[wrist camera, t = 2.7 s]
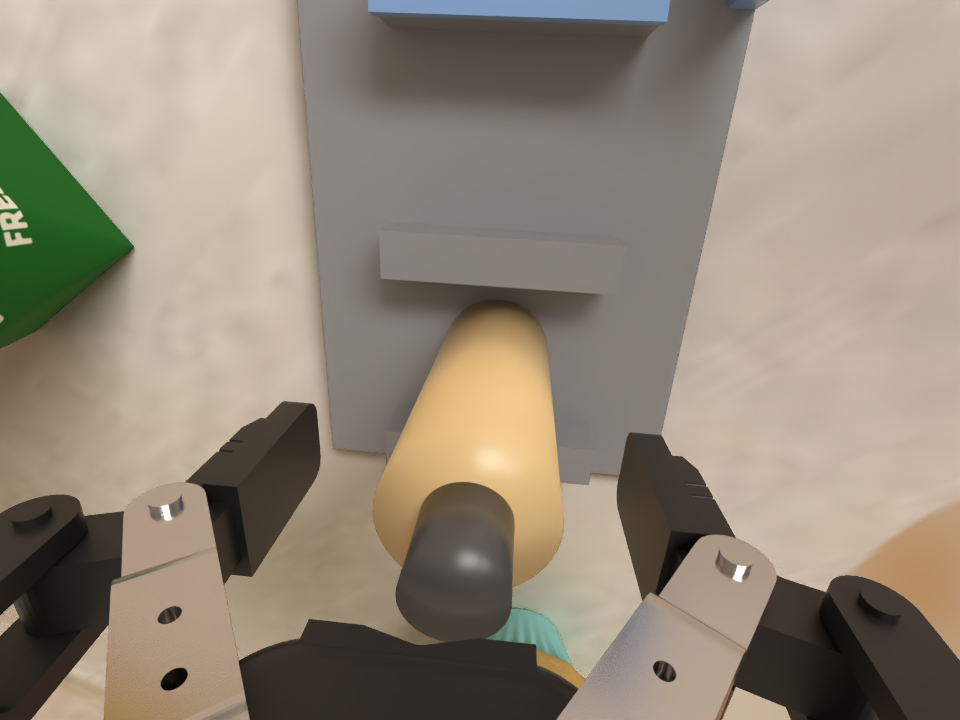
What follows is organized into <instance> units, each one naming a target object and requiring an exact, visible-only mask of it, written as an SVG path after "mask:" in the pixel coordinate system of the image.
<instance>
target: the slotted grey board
mask: <svg viewBox="0 0 960 720" xmlns="http://www.w3.org/2000/svg"><path fill="white" fill-rule="evenodd" d="M767 1H769V0H297V4H298V16H299V29H300V41H301V54H302V66H303V79H304V91H305V104H306V116H307V129H308V141H309V154H310V166H311V179H312V191H313V204H314V216H315V229H316V241H317V253H318V266H319V278H320V291H321V303H322V316H323V328H324V341H325V353H326V366H327V378H328V391H329V403H330V416H331V428H332V441H333V449H344V450H355V451H365V452H376V453H386V465H387V464H388V461H389V459H390V457H391V455H392V453H393V451H394V448H395V446H396V444H397V442H398V440H399V438H400V435H401V433H402V431H403V429H404V427H405V424H406V422H407V420H408V418H409V416H410V414H411V411H412V409H413V407H414V405H415V403H416V401H417V398H418V396H419V394H420V392H421V390H422V388H423V385H424V383H425V381H426V379H427V377H428V375H429V372H430V370H431V368H432V366H433V364H434V361H435V359H436V357H437V355H438V353H439V351H440V348H441V346H442V344H443V342H444V340H445V338H446V335H447V333H448V331H449V329H450V327H451V325H452V323H453V321H454V320H455V319H456V317H457V316H458V315H459V314H460V313H461V312H462V311H464V310H465V309H466V308H468V307H470V306H471V305H473V304H476V303H478V302H482V301H486V300H506V301H510V302H513V303H516V304H518V305H520V306H522V307H524V308H525V309H527V310H528V311H529V312H531V313H532V314H533V315H534V316H535V317H536V319H537V320H538V321H539V323H540V324H541V326H542V328H543V330H544V333H545V336H546V340H547V349H548V360H549V370H550V381H551V391H552V402H553V412H554V423H555V433H556V444H557V455H558V465H559V476H560V482H561V483H572V484H582V485H588V484H589V478H590V473H599V474H610V475H619V474H620V469H621V464H622V459H623V454H624V449H625V444H626V439H627V436H628V434H629V433H630V432H634V433H645V434H657V435H661V432H662V428H663V423H664V419H665V414H666V410H667V405H668V401H669V396H670V392H671V387H672V383H673V378H674V374H675V369H676V365H677V360H678V356H679V351H680V347H681V342H682V338H683V333H684V329H685V324H686V320H687V315H688V311H689V306H690V302H691V297H692V293H693V288H694V284H695V279H696V274H697V270H698V265H699V261H700V256H701V252H702V247H703V243H704V238H705V234H706V229H707V225H708V220H709V216H710V211H711V207H712V202H713V198H714V193H715V189H716V184H717V180H718V175H719V171H720V166H721V162H722V157H723V153H724V148H725V144H726V139H727V135H728V130H729V126H730V121H731V117H732V112H733V107H734V103H735V98H736V94H737V89H738V85H739V80H740V76H741V71H742V67H743V62H744V58H745V53H746V49H747V44H748V40H749V35H750V31H751V26H752V22H753V17H754V13H755V9H757V8H758V7H760V6H761V5H763V4H764V3H766V2H767Z"/></svg>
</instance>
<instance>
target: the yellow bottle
mask: <svg viewBox="0 0 960 720" xmlns="http://www.w3.org/2000/svg"><path fill="white" fill-rule="evenodd" d="M373 518H374V524H375V527H376V531H377V533H378V536H379V538H380V540H381V542H382V544H383V545H384V547H385V548H386V550H387V551H388V552H389V554H390V555H391V556H392V557H393V559H394V560H396V561H397V562H398V563H399V564H400V565H401V566H402V570H401V574H400V577H399V580H398V583H397V587H396V602H397V605H398V608H399V610H400V612H401V614H402V615H403V617H404V618H405V619H406V620H407V622H408V623H410V624H411V625H412V626H413V627H414V628H415V629H417V630H418V631H420V632H422V633H423V634H425V635H427V636H429V637H432V638H435V639H437V640H441V641H445V642H454V641H461V640H469V639H477V638H482V639H486V638H488V637H490V636H492V635H494V634H495V633H497V632H498V631H499V630H500V629H501V628H502V627H503V626H504V625H505V624H506V622H507V621H508V619H509V616H510V613H511V608H512V587H514V586H517V585H519V584H521V583H523V582H525V581H527V580H529V579H531V578H532V577H534V576H535V575H537V574H538V573H539V572H540V571H541V570H542V569H544V568H545V567H546V566H547V564H548V563H549V562H550V561H551V560H552V558H553V557H554V555H555V553H556V552H557V550H558V547H559V545H560V542H561V539H562V535H563V527H564V518H563V507H562V497H561V486H560V476H559V465H558V455H557V444H556V433H555V423H554V412H553V402H552V391H551V381H550V370H549V360H548V349H547V340H546V336H545V333H544V330H543V328H542V326H541V324H540V323H539V321H538V320H537V319H536V317H535V316H534V315H533V314H532V313H531V312H529V311H528V310H527V309H525V308H524V307H522V306H520V305H518V304H516V303H513V302H510V301H506V300H486V301H482V302H478V303H476V304H473V305H471V306H470V307H468V308H466V309H465V310H464V311H462V312H461V313H460V314H459V315H458V316H457V317H456V319H455V320H454V321H453V323H452V325H451V327H450V329H449V331H448V333H447V335H446V338H445V340H444V342H443V344H442V346H441V348H440V351H439V353H438V355H437V357H436V359H435V361H434V364H433V366H432V368H431V370H430V372H429V375H428V377H427V379H426V381H425V383H424V385H423V388H422V390H421V392H420V394H419V396H418V398H417V401H416V403H415V405H414V407H413V409H412V411H411V414H410V416H409V418H408V420H407V422H406V424H405V427H404V429H403V431H402V433H401V435H400V438H399V440H398V442H397V444H396V446H395V448H394V451H393V453H392V455H391V457H390V459H389V461H388V464H387V466H386V468H385V470H384V472H383V474H382V477H381V479H380V481H379V483H378V486H377V488H376V491H375V495H374V500H373Z"/></svg>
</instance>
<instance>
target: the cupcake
mask: <svg viewBox="0 0 960 720" xmlns="http://www.w3.org/2000/svg"><path fill="white" fill-rule="evenodd" d="M486 639H491V640H500V641H509V642H518V643H527V644H536V650H537V665H539V666H541V667H544V668H547V669H549V670H551V671H552V672H554V673H556V674H558V675H560V676H562V677H563V678H565V679H566V680H568V681H569V682H571V683H572V684H573V685H575V686H576V687H577V688H578V689H579V688H580V687H581V685H582V684H583V682H584V681H585V680H586V679H584V678H583V677H582V676H581V675H580V674H578V672H577V671H576V670H575V669H574V667H573V665H572V663H571V661H570V659H569V657H568V654H567V652H566V649H565V647H564V644H563V642H562V639H561V636H560V634H559V632H558V630H557V628H556V627H555V626H554V625H553V624H552V623H551V622H550V621H549V620H548V619H547V618H545V617H543V616H542V615H540V614H538V613H535V612H532V611H529V610H524V609H511V613H510V616H509V619H508V621H507V622H506V624H505V625H504V626H503V627H502V628H501V629H500V630H499V631H498V632H497V633H495V634H494V635H492V636H490V637H488V638H486Z"/></svg>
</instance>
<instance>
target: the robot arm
mask: <svg viewBox="0 0 960 720" xmlns="http://www.w3.org/2000/svg"><path fill="white" fill-rule="evenodd" d="M320 458H321V456H320V443H319V431H318V419H317V410H316V407H315V405H314V404H310V403H299V402H287V401H284V402H282V403H281V404H280V405H279V406H278V407H277V408H276V409H275V410H274V411H273V412H272V413H271V414H270V415H269V416H268V417H267V418H266V419H265V418H260V419H258V420H256V421H254V422H252V423H250V424H248V425H246V426H244V427H242V428H241V429H240V430H239V431H238V432H237V433H236V434H235V435H234V436H233V437H232V438H231V439H230V441H229V442H227V443H226V444H225V445H223V446H222V447H221V448H220V450H219V452H216V453H215V454H214V455H213V456H212V457H211V458H210V459H209V460H208V461H207V462H206V463H205V464H204V465H203V466H202V467H201V468H200V469H198V470H197V471H196V472H195V473H194V474H193V475H192V476H191V477H190V478H189V479H188V480H187V481H186V482H185V483H172V484H167V485H163V486H160V487H157V488H154V489H151V490H149V491H147V492H145V493H143V494H142V495H140V496H138V497H137V498H136V499H134V500H133V501H132V502H131V503H130V504H129V505H128V506H127V508H126V509H125V511H123V512H114V513H106V514H97V515H89V516H84V514H83V511H82V508H81V505H80V502H79V500H78V499H77V498H75V497H73V496H69V495H49V496H44V497H39V498H35V499H32V500H28V501H25V502H23V503H20V504H18V505H16V506H13V507H11V508H9V509H7V510H6V511H4V512H2V513H1V514H0V615H1V614H2V613H3V612H4V611H5V610H6V609H7V608H9V607H10V606H11V605H12V604H14V606H15V608H16V611H17V613H18V615H19V618H18V619H17V620H16V621H15V622H14V623H13V624H12V625H11V626H10V627H9V628H8V629H7V630H6V631H5V632H4V633H3V634H2V635H1V636H0V720H31V719H32V718H33V716H34V715H35V714H36V713H37V711H38V710H39V709H40V708H41V706H42V705H43V704H44V703H45V702H46V700H47V699H48V698H49V697H50V695H51V694H52V693H53V692H54V691H55V689H56V688H57V687H58V686H59V684H60V683H61V682H62V681H63V680H64V678H65V677H66V676H67V675H68V673H69V672H70V671H71V670H72V669H73V667H74V666H75V665H76V664H77V662H78V661H79V660H80V659H81V657H82V656H83V655H84V654H85V653H86V651H87V650H88V649H89V648H90V646H91V645H92V644H93V643H94V642H95V640H96V639H97V638H98V637H99V635H100V634H101V633H102V632H103V631H104V629H105V628H106V627H107V625H109V631H108V650H107V668H106V686H105V704H104V720H722V719H723V717H724V714H725V712H726V709H727V707H728V705H729V703H730V700H731V698H732V695H733V693H734V691H735V688H736V687H738V688H740V689H743V690H745V691H748V692H750V693H753V694H755V695H758V696H760V697H762V698H765V699H767V700H770V701H772V702H775V703H777V704H779V705H782V706H784V707H786V709H787V711H788V713H789V716H790V718H791V720H960V660H959V659H958V658H957V657H956V655H955V654H954V653H953V652H952V650H951V649H950V648H949V647H948V646H947V644H946V643H945V642H944V640H943V639H942V638H941V637H940V635H939V634H938V633H937V632H936V631H935V629H934V628H933V627H932V626H931V624H930V623H929V622H928V621H927V619H926V618H925V617H924V616H923V614H922V613H921V612H920V611H919V610H918V609H917V608H916V607H915V606H914V605H913V604H912V603H911V602H909V601H908V600H907V599H905V598H904V597H903V596H901V595H900V594H898V593H897V592H895V591H893V590H892V589H890V588H888V587H886V586H884V585H882V584H880V583H877V582H875V581H872V580H869V579H866V578H863V577H858V576H850V575H846V576H839V577H836V578H834V579H833V580H832V581H831V582H830V585H829V587H828V589H827V592H823V591H820V590H817V589H814V588H811V587H808V586H805V585H802V584H799V583H795V582H792V581H789V580H787V579H784V578H782V577H779V576H777V575H776V571H775V568H774V567H773V565H772V563H771V562H770V561H769V559H768V558H767V557H766V556H765V555H764V554H763V553H761V552H760V551H759V550H758V549H756V548H754V547H753V546H751V545H750V544H748V543H746V542H744V541H741V540H739V539H736V537H735V535H734V534H733V532H732V530H731V528H730V526H729V525H728V523H727V521H726V519H725V517H724V516H723V514H722V512H721V510H720V508H719V507H718V505H717V503H716V501H715V500H714V499H713V496H712V494H711V492H710V491H709V489H708V487H706V483H705V482H704V480H703V478H702V476H701V474H700V473H699V471H698V470H697V469H696V468H695V467H694V466H693V465H692V464H690V463H689V462H688V461H687V460H686V459H684V458H683V457H681V456H672V455H671V453H670V451H669V449H668V447H667V445H666V443H665V441H664V439H663V437H662V436H661V435H657V434H645V433H634V432H630V433H629V434H628V436H627V439H626V444H625V449H624V454H623V459H622V464H621V469H620V474H619V480H618V485H617V506H618V511H619V515H620V519H621V522H622V526H623V530H624V534H625V537H626V541H627V545H628V549H629V552H630V556H631V560H632V563H633V567H634V571H635V575H636V578H637V582H638V586H639V590H640V593H641V597H642V601H643V602H642V603H641V604H640V606H639V607H638V608H637V610H636V611H635V612H634V614H633V615H632V617H631V618H630V619H629V621H628V622H627V623H626V625H625V626H624V628H623V629H622V630H621V632H620V633H619V634H618V636H617V637H616V639H615V640H614V641H613V643H612V644H611V645H610V647H609V648H608V650H607V651H606V652H605V654H604V655H603V656H602V658H601V659H600V661H599V662H598V663H597V665H596V666H595V667H594V669H593V670H592V672H591V673H590V674H589V676H588V677H587V678H586V680H585V681H584V682H583V684H582V685H581V687H580V688H579V689H578V688H577V687H576V686H575V685H573V684H572V683H571V682H569V681H568V680H566V679H565V678H563V677H562V676H560V675H558V674H556V673H554V672H552V671H551V670H549V669H547V668H544V667H541V666H539V665H537V650H536V644H527V643H518V642H509V641H500V640H491V639H482V638H477V639H469V640H461V641H454V642H446V643H438V644H430V645H415V644H412V643H409V642H406V641H404V640H401V639H399V638H396V637H393V636H391V635H388V634H385V633H383V632H380V631H378V630H375V629H372V628H370V627H367V626H365V625H357V624H348V623H340V622H331V621H322V620H313V619H309V621H308V623H307V625H306V627H305V629H304V631H303V633H302V636H301V638H300V639H294V640H290V641H285V642H281V643H278V644H275V645H272V646H269V647H266V648H264V649H261V650H259V651H257V652H255V653H253V654H250V655H248V656H247V657H245V658H243V659H241V660H240V661H239V659H238V654H237V649H236V644H235V639H234V634H233V629H232V623H231V618H230V613H229V608H228V603H227V598H226V593H225V588H224V584H225V583H226V581H227V580H228V578H229V577H230V575H240V576H249V577H252V576H253V575H254V573H255V572H256V570H257V569H258V567H259V565H260V564H261V562H262V561H263V559H264V558H265V556H266V555H267V553H268V552H269V550H270V548H271V547H272V545H273V544H274V542H275V541H276V539H277V538H278V536H279V535H280V533H281V531H282V530H283V528H284V527H285V525H286V524H287V522H288V521H289V519H290V518H291V516H292V514H293V513H294V511H295V510H296V508H297V507H298V505H299V504H300V502H301V501H302V499H303V497H304V496H305V494H306V493H307V491H308V490H309V488H310V487H311V485H312V484H313V482H314V480H315V479H316V477H317V474H318V471H319V467H320Z"/></svg>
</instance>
